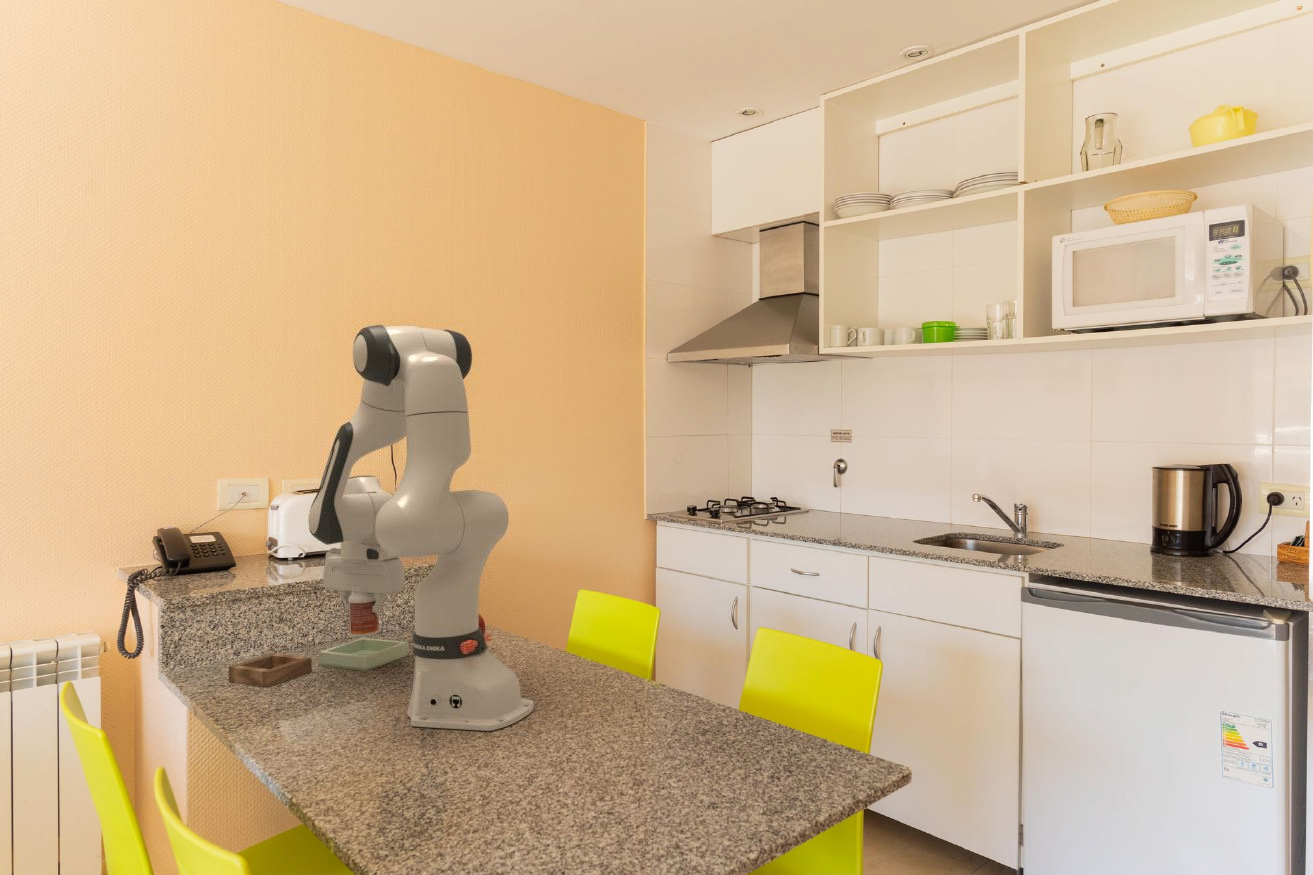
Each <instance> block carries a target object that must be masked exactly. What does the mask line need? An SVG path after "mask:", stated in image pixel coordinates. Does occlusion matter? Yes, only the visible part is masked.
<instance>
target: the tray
mask: <svg viewBox="0 0 1313 875" xmlns="http://www.w3.org/2000/svg"><path fill="white" fill-rule="evenodd" d="M408 643H409V642H407V641H401V640H400V641H398V640H389V639H378V638H369V637H359V638H357V639H355V640H351V641H349V642H345V643H342V644H340V645H336V646H334V647H333V646H332V647H330V648H328V649H324V650H321V651H319V652H318V655H319V656H318V659H319V662H318V663H319V665H318V666H319V667H327V668H332V669H334V668H335V669H341V670H349V671H356V672H369V671H371V670H374V669H378V668H379V667H382V666H384V665H387V664H390V663H392V662H395V661H398V660H400V659H404V658H405V657H408V656H409V650H408V649H409V648H408V647H409V646H408V645H409V644H408Z"/></svg>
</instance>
